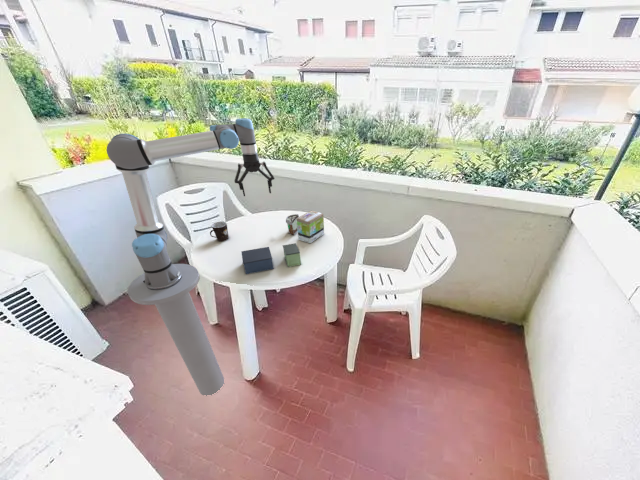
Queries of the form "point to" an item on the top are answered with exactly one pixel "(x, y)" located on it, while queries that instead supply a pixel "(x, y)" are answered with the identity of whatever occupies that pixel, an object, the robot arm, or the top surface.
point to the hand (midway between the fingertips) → (257, 194)
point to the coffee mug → (220, 230)
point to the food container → (292, 223)
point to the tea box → (310, 226)
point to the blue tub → (257, 260)
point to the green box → (292, 254)
